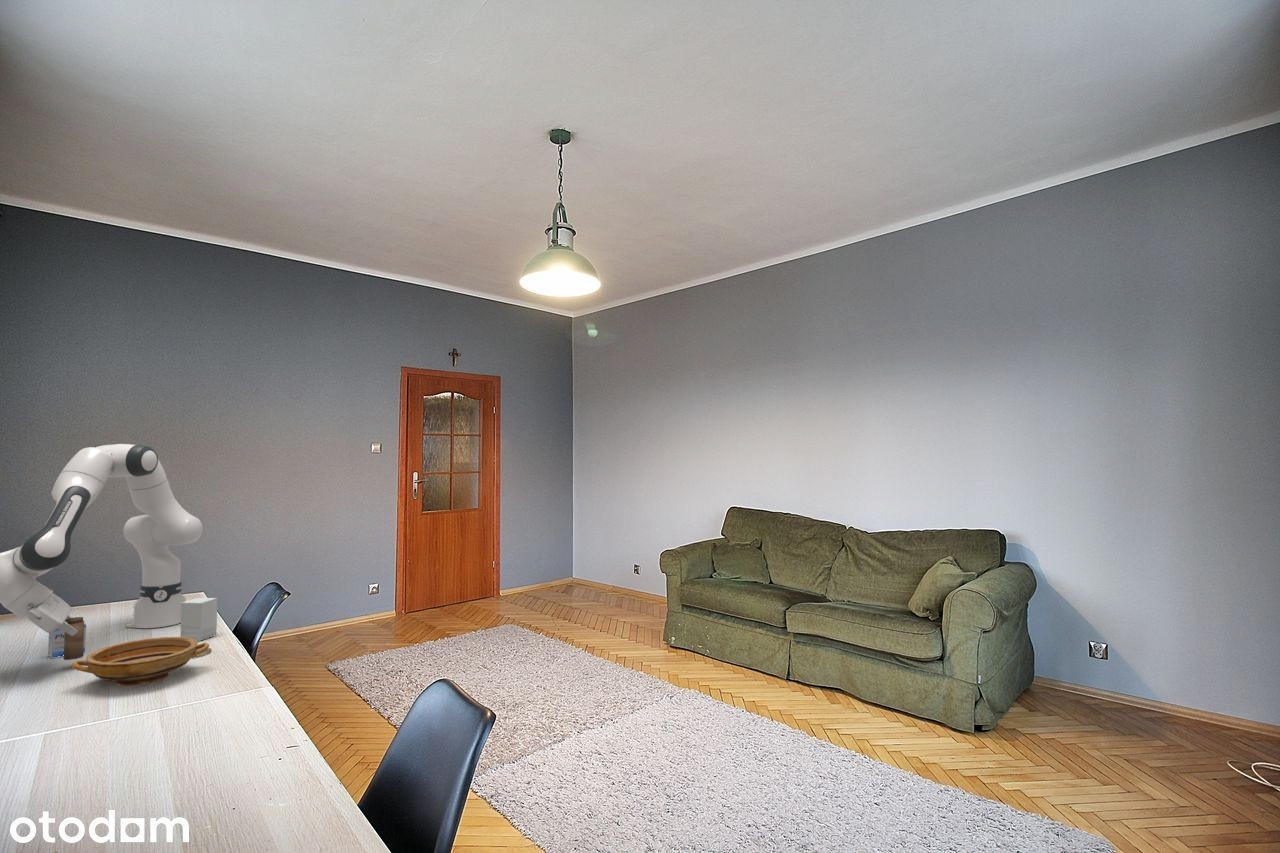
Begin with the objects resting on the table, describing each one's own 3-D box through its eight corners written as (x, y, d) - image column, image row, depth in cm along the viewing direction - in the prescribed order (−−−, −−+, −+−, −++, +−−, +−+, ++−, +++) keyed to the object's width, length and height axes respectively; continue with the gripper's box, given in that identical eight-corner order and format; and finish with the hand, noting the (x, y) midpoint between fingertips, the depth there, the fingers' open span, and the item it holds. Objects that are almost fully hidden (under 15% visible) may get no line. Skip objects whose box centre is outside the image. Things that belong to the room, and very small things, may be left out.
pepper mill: (64, 656, 182) (66, 618, 183) (84, 654, 185) (85, 615, 185) (62, 660, 179) (63, 621, 179) (82, 658, 181) (83, 619, 182)
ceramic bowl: (64, 705, 155) (66, 672, 155) (76, 676, 174) (77, 647, 175) (210, 680, 173) (211, 650, 173) (206, 657, 192) (207, 630, 192)
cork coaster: (171, 652, 196) (171, 650, 196) (210, 647, 201) (210, 645, 201) (171, 661, 187) (171, 659, 188) (211, 655, 193) (211, 653, 193)
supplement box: (217, 635, 214) (218, 597, 215) (199, 641, 207) (201, 602, 208) (197, 634, 215) (198, 597, 216) (179, 641, 208) (180, 602, 208)
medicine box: (50, 659, 189) (52, 629, 189) (47, 656, 192) (48, 627, 192) (85, 652, 195) (86, 624, 196) (81, 649, 198) (82, 621, 198)
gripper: (36, 599, 170) (83, 630, 175) (49, 585, 187) (91, 614, 192) (12, 619, 167) (60, 649, 173) (28, 602, 184) (71, 631, 189)
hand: (77, 630), depth 182 cm, fingers closed on pepper mill, 4 cm apart
